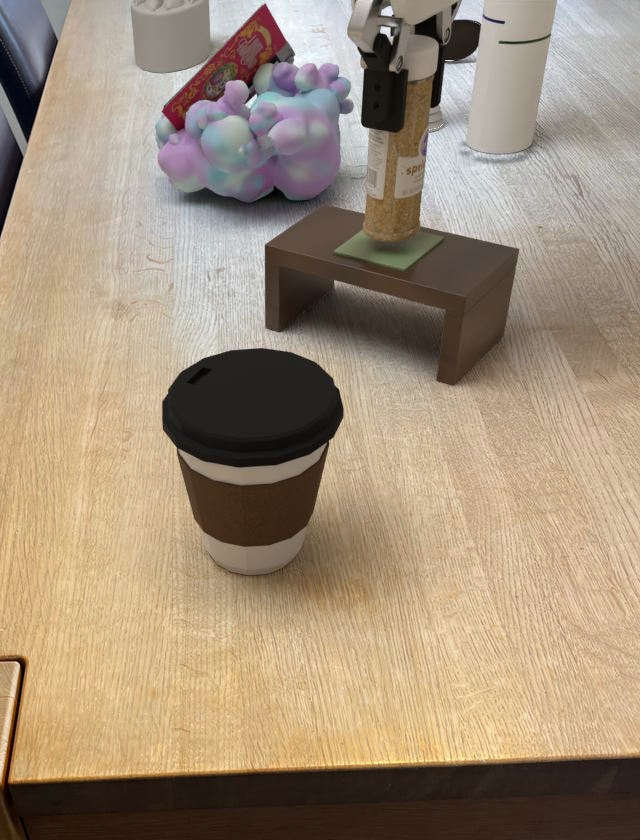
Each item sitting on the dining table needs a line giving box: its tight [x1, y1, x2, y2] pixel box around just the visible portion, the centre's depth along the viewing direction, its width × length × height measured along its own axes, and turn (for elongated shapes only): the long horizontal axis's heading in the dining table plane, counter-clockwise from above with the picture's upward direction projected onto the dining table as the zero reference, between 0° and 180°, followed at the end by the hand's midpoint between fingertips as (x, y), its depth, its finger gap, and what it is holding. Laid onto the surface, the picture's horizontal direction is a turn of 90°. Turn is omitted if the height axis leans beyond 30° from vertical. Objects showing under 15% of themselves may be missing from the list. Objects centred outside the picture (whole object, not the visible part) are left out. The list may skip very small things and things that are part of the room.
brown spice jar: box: [363, 35, 439, 242], centre depth 75 cm, size 5×5×13 cm
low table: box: [264, 203, 520, 386], centre depth 83 cm, size 18×9×8 cm, turn 51°
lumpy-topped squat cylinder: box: [130, 0, 212, 74], centre depth 140 cm, size 10×13×9 cm
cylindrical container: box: [465, 0, 558, 155], centre depth 104 cm, size 7×7×25 cm
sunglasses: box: [389, 13, 481, 62], centre depth 136 cm, size 14×16×5 cm
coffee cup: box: [161, 347, 345, 576], centre depth 63 cm, size 11×11×12 cm
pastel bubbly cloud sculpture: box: [154, 2, 355, 204], centre depth 104 cm, size 20×22×18 cm
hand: (400, 113), depth 73 cm, fingers closed on brown spice jar, 4 cm apart
